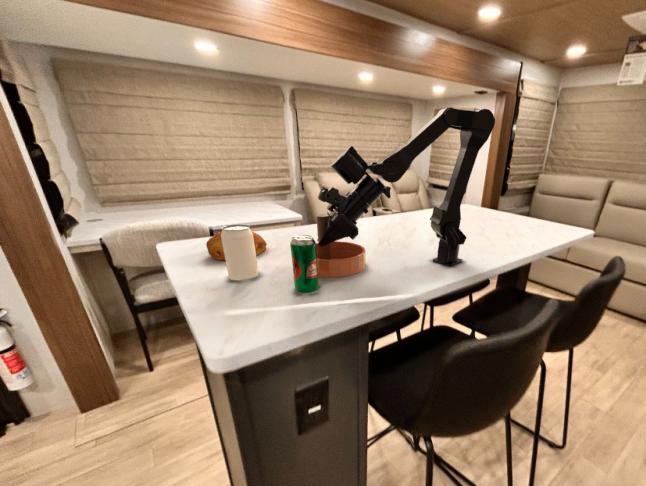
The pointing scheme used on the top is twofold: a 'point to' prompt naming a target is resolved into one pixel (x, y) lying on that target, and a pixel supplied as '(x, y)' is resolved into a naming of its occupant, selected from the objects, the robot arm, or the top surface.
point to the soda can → (304, 263)
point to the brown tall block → (321, 229)
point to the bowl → (342, 260)
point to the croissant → (217, 247)
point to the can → (239, 252)
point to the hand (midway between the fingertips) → (318, 243)
